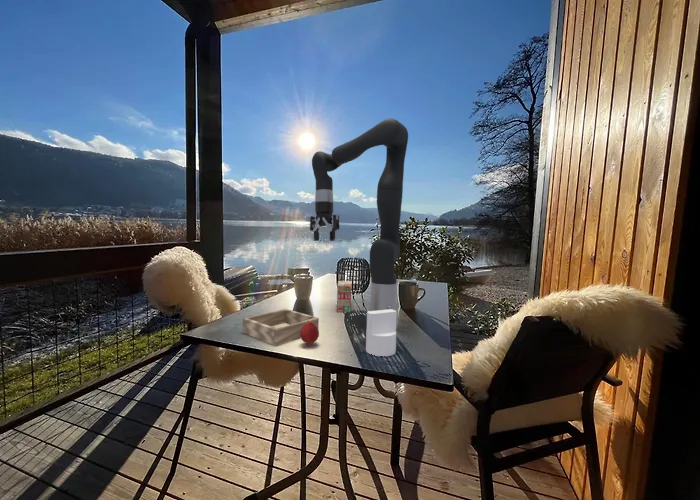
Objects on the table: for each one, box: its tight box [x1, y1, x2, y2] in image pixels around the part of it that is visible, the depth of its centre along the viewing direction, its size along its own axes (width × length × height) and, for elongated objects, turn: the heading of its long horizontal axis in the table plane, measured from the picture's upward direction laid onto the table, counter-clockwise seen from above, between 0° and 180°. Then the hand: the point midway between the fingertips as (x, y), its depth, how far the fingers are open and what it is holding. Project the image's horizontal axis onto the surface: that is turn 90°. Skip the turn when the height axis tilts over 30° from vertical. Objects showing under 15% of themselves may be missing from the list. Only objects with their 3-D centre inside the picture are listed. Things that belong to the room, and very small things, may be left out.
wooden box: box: [242, 308, 320, 347], centre depth 106 cm, size 18×18×5 cm
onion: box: [300, 320, 320, 346], centre depth 94 cm, size 6×6×8 cm
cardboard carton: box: [336, 280, 352, 313], centre depth 144 cm, size 21×6×12 cm, turn 1°
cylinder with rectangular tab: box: [365, 309, 397, 357], centre depth 91 cm, size 9×9×12 cm
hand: (324, 240), depth 126 cm, fingers open, 8 cm apart
